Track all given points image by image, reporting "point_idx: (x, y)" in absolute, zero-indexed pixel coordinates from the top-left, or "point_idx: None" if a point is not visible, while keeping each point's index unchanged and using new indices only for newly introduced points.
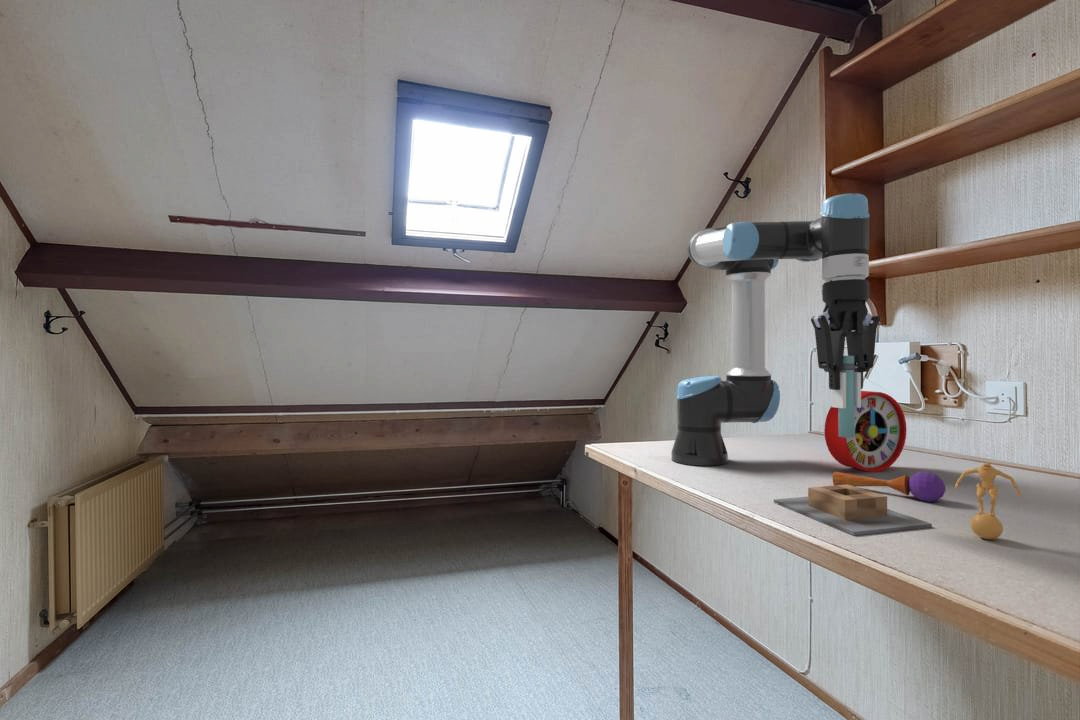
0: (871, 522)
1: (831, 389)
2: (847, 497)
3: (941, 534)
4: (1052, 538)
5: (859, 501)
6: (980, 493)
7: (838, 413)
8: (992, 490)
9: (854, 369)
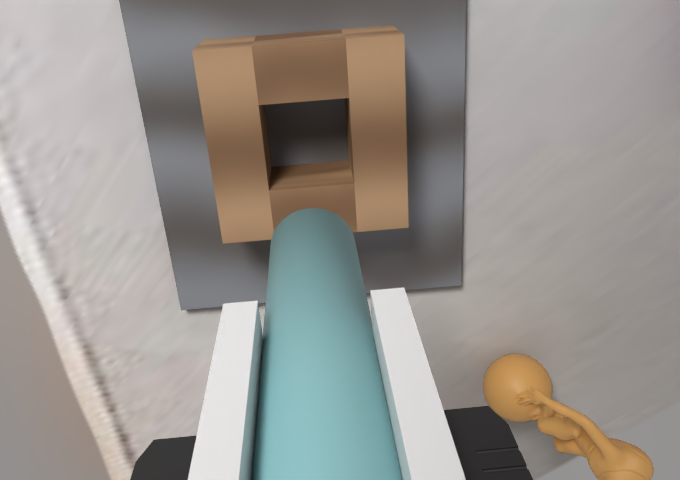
0: None
1: (204, 400)
2: (255, 216)
3: (429, 328)
4: (657, 385)
5: None
6: (548, 434)
7: (270, 298)
8: (575, 454)
9: None
